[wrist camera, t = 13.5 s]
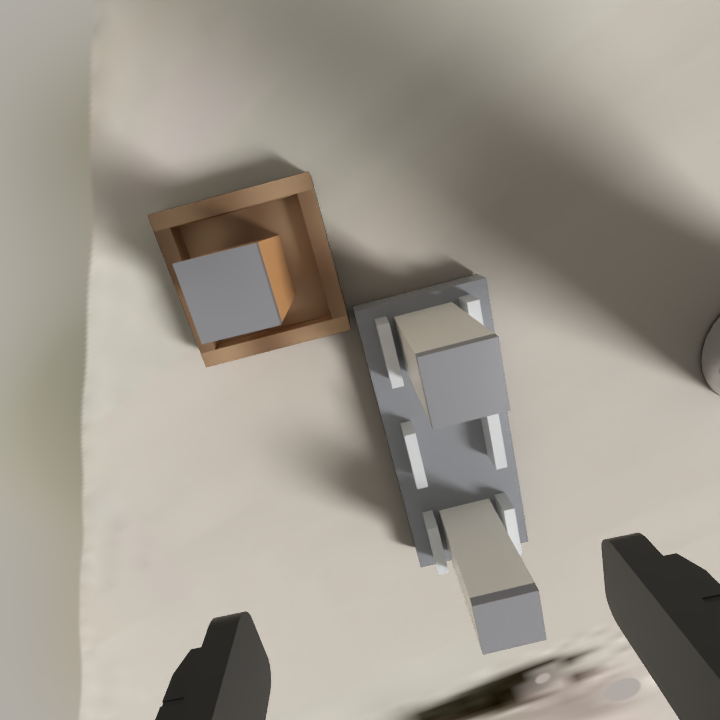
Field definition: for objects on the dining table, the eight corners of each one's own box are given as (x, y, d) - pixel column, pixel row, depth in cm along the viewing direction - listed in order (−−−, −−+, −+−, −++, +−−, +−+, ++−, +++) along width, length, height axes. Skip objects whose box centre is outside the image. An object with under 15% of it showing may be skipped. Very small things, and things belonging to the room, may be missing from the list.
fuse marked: (279, 234, 29) (255, 242, 20) (296, 294, 30) (280, 325, 22) (220, 249, 29) (172, 263, 21) (239, 308, 30) (201, 344, 22)
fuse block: (476, 274, 31) (547, 303, 21) (518, 525, 38) (587, 642, 28) (352, 306, 32) (361, 351, 21) (416, 550, 38) (446, 675, 28)
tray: (310, 175, 29) (308, 171, 26) (349, 321, 32) (350, 329, 29) (162, 215, 29) (147, 215, 27) (215, 356, 32) (206, 367, 30)
